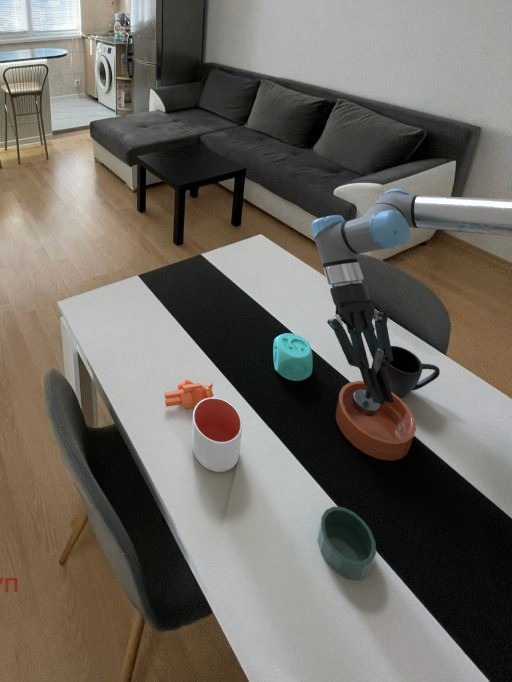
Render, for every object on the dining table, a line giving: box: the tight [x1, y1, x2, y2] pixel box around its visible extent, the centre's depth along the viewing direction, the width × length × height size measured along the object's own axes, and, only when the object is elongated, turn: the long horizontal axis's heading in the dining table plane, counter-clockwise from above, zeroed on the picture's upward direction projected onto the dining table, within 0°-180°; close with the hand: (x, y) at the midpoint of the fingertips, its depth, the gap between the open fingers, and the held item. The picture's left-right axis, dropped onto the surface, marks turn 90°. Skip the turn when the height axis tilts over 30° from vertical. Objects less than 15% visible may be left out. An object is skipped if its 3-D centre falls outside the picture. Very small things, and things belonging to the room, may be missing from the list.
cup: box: [191, 397, 243, 473], centre depth 91 cm, size 10×10×10 cm
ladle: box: [352, 348, 384, 416], centre depth 91 cm, size 5×5×17 cm
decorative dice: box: [272, 332, 314, 382], centre depth 109 cm, size 8×8×8 cm
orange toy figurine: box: [164, 379, 214, 409], centre depth 103 cm, size 5×8×12 cm
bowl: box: [335, 380, 417, 462], centre depth 94 cm, size 14×14×6 cm
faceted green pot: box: [317, 506, 377, 581], centre depth 75 cm, size 8×8×5 cm
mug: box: [386, 345, 441, 399], centre depth 102 cm, size 8×12×10 cm
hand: (383, 402), depth 88 cm, fingers closed on ladle
